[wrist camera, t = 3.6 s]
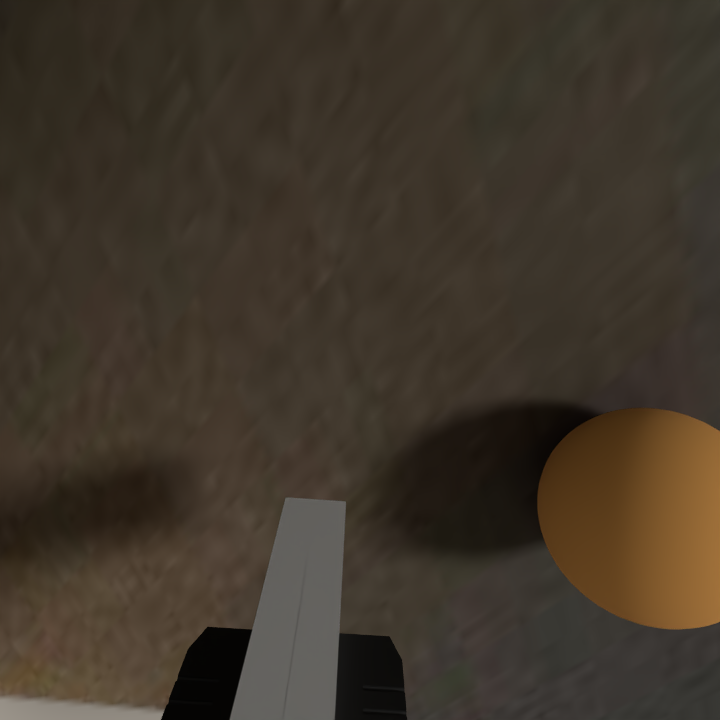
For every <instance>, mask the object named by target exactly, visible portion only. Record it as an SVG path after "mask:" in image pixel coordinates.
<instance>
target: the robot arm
mask: <svg viewBox="0 0 720 720" xmlns="http://www.w3.org/2000/svg"><path fill="white" fill-rule="evenodd" d="M345 511H346V501H331V500H316V499H301V498H286V499H285V503H284V507H283V510H282V514H281V518H280V522H279V526H278V530H277V534H276V538H275V542H274V546H273V550H272V554H271V558H270V562H269V566H268V570H267V574H266V578H265V582H264V586H263V590H262V594H261V598H260V602H259V606H258V609H257V613H256V617H255V621H254V625H253V629H252V630H250V629H233V628H217V627H207V628H206V629H205V630H204V632H203V633H202V634H201V635H200V636H199V637H198V638H197V640H196V641H195V642H194V643H193V644H192V645H191V646H190V647H189V649H188V651H187V653H186V656H185V659H184V661H183V664H182V666H181V669H180V672H179V674H178V679H177V681H176V682H175V685H174V687H173V690H172V692H171V695H170V698H169V703H168V705H166V708H165V711H164V713H163V716H162V719H161V720H407V717H406V701H405V693H404V677H403V666H402V659H401V657H400V655H399V654H398V652H397V650H396V648H395V646H394V644H393V642H392V640H391V639H390V637H389V636H374V635H358V634H342V633H339V627H340V607H341V588H342V569H343V550H344V531H345Z"/></svg>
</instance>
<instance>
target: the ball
mask: <svg viewBox="0 0 720 720" xmlns="http://www.w3.org/2000/svg"><path fill="white" fill-rule="evenodd" d="M537 510H538V517H539V523H540V528H541V532H542V535H543V538H544V541H545V543H546V545H547V548H548V550H549V552H550V554H551V556H552V557H553V559H554V561H555V562H556V564H557V566H558V567H559V569H560V570H561V571H562V572H563V574H564V575H565V576H566V577H567V579H568V580H569V581H570V582H571V583H572V584H573V585H574V586H575V587H576V588H577V589H578V590H579V591H580V592H581V593H582V594H584V595H585V596H586V597H587V598H589V599H590V600H591V601H593V602H594V603H596V604H597V605H598V606H600V607H602V608H603V609H605V610H607V611H609V612H611V613H613V614H614V615H616V616H618V617H621V618H624V619H626V620H629V621H632V622H635V623H637V624H641V625H645V626H650V627H656V628H663V629H689V628H698V627H703V626H708V625H711V624H715V623H718V622H720V431H718V430H717V429H715V428H713V427H712V426H710V425H708V424H706V423H704V422H702V421H700V420H697V419H695V418H693V417H690V416H687V415H684V414H681V413H677V412H673V411H668V410H662V409H654V408H630V409H621V410H616V411H611V412H607V413H605V414H602V415H599V416H596V417H594V418H592V419H590V420H588V421H586V422H584V423H583V424H581V425H579V426H578V427H576V428H575V429H574V430H572V431H571V432H570V433H569V434H567V435H566V436H565V437H564V438H563V439H562V440H561V441H560V442H559V444H558V445H557V446H556V447H555V449H554V450H553V451H552V453H551V455H550V456H549V458H548V460H547V462H546V464H545V466H544V469H543V472H542V475H541V479H540V482H539V487H538V496H537Z"/></svg>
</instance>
